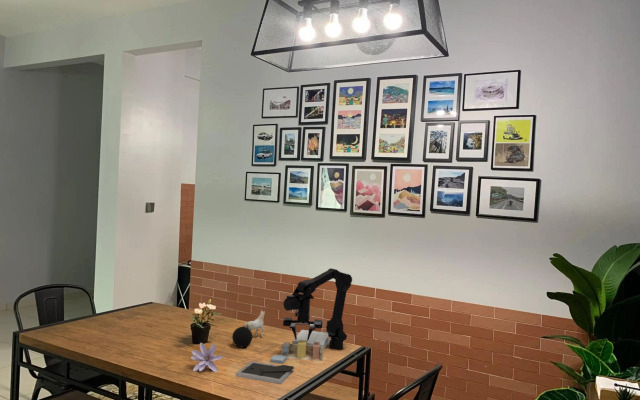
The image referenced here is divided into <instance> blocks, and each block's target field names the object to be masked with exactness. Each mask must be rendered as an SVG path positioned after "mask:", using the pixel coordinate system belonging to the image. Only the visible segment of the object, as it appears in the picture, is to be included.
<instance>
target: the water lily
mask: <svg viewBox="0 0 640 400" xmlns="http://www.w3.org/2000/svg"><path fill="white" fill-rule="evenodd" d="M199 349H200V351H199V350H195V349H194V350H191V353H192V356H191V357H190V358H191V359H192V360H193V361H196V362H198V363H197V364H195V366H194V367H193V369H192V371H193V372H198V371H199V372H202V371H203V370H205V368H206V367H207V366H208V368H209V369H211V371H213V372H214V373H218V367H217V366H216V364H215V363H214V362H213V361H218V360H222V358H223V356H222V355H214V353H215V352H216V349H217V345H216V343H213V344H212V345H211V346H210V347H209V348H208V349H207V347H206V345H205V344H204V343H202V342H200V343H199Z"/></svg>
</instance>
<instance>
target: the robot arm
mask: <svg viewBox="0 0 640 400" xmlns="http://www.w3.org/2000/svg"><path fill="white" fill-rule="evenodd" d="M332 279H334V280H335V282H334V284H335V287H336V294H335V299H334V303H333V305H334V306H333V311H332V316H331V319H329V320H327V321H326V326H325V329H326V333H328V336H329V337H330V342H329V344H328V345H329V349H331V350H334V351H341V350H343V349H344V341H346V340H347V338H348V335H347V333H346V332H345V331H344V322H343V315H344V314H343V313H344V308H345V302H346V297H347V291H348V290H349V289H350V288H351V286H352V283H353V277H352V275H351V274H349V273H345V272H341V271H340V270H337V269H336V268H328V269H327V270H325V271H324V272H323V273H320V274H318V275H317V276H315V277H313V278H311V279H304V280H301V281H299V282H298V283H297V286H296V288H295V289H294V291H293V292H292V294H291V295H286V297H285V299H284V300H283V303H282V305H283V308H284V310H285V311H287V312H289V311H295V313H294V314H295V315H294V317H296V318H297V319H293V317H284V319H283V321H282V326H283V327H289V329H291V331H292V333H293V336H294V339H295V340H297V335H298V334H297V333H298V332H297V325H301V326H302V325H303V326H309V329H308V331H309V333H308V338H307V341H308V340H309V337H310V335H311V333H312V331H315V330H316V329H323V320H322V319H318V318H317V319H314V321H312V320H310V317H311V316H310V309H311V308H310V306H311V300H313V299H315V297H314V296H313V295H312V294H313V293H314V292H316V290H317V288H319V287H321V286H322V285H324V284H326V283H327V282H329V281H330V280H331V281H332Z"/></svg>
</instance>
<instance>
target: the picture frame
mask: <svg viewBox="0 0 640 400" xmlns="http://www.w3.org/2000/svg"><path fill="white" fill-rule="evenodd" d="M294 369H295V366H293V365H286V364H280V365H279V364H278V365H277V364H273V363H271V364H270V363H266V362H265V363H264V362H258V361H253V360H252V361H250V362H249V363H247V364H245V365H244V366H243V367H242V368H241V369H239V370H238V371H236V373H235V377H238V378H243V379H249V380H255V381H260V382H267V383H271V384H279V385H283V383H284V382H285V381H286V380H287V379H288V378H289V377H290V376H291V375H292V374H293V373H294V372H295V371H294Z"/></svg>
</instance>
